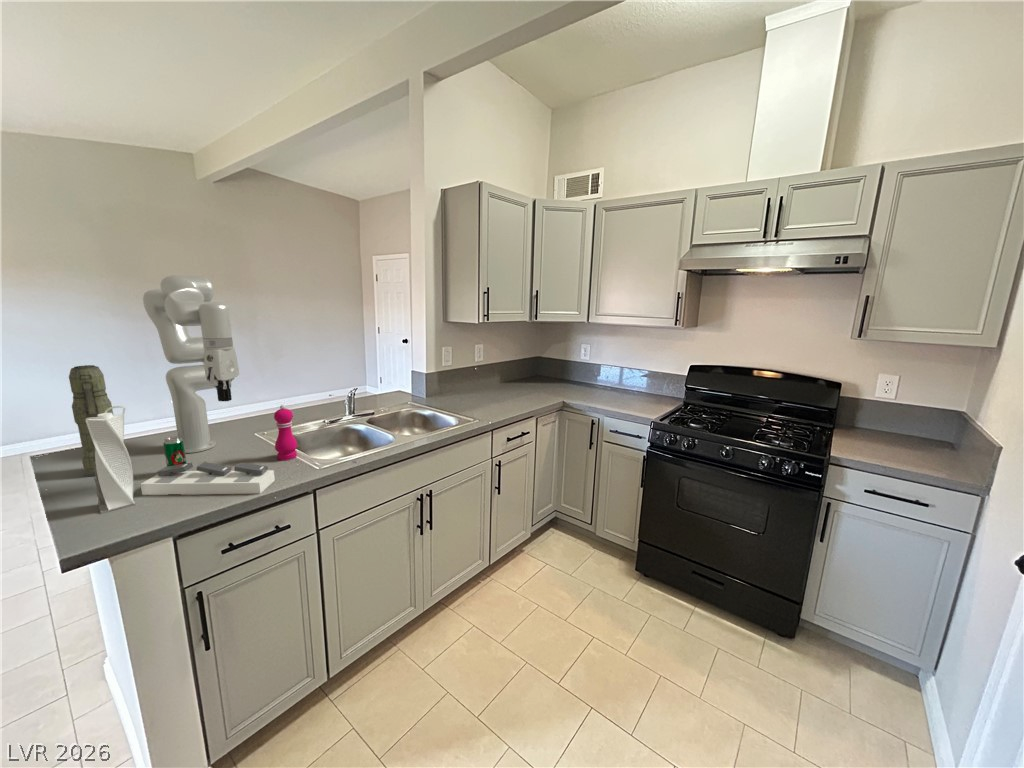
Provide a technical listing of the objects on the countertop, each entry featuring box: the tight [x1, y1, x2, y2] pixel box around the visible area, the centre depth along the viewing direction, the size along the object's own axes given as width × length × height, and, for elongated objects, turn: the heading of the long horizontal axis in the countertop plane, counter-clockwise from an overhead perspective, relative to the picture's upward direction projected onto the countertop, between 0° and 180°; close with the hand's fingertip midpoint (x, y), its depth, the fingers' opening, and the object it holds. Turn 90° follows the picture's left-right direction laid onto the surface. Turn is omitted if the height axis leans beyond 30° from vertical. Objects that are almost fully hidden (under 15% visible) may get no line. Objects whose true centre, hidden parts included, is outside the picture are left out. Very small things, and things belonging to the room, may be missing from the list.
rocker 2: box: [233, 462, 269, 475], centre depth 127 cm, size 8×4×2 cm, turn 95°
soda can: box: [162, 435, 187, 467], centre depth 133 cm, size 5×5×12 cm
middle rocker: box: [195, 461, 232, 476], centre depth 126 cm, size 8×4×2 cm, turn 95°
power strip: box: [140, 469, 276, 496], centre depth 125 cm, size 33×9×4 cm, turn 95°
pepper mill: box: [273, 404, 298, 461], centre depth 148 cm, size 7×7×20 cm
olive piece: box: [68, 364, 114, 477], centre depth 130 cm, size 9×12×35 cm
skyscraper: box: [86, 405, 136, 515], centre depth 111 cm, size 8×8×28 cm
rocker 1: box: [156, 462, 194, 476], centre depth 125 cm, size 8×4×2 cm, turn 95°
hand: (225, 400), depth 130 cm, fingers closed
